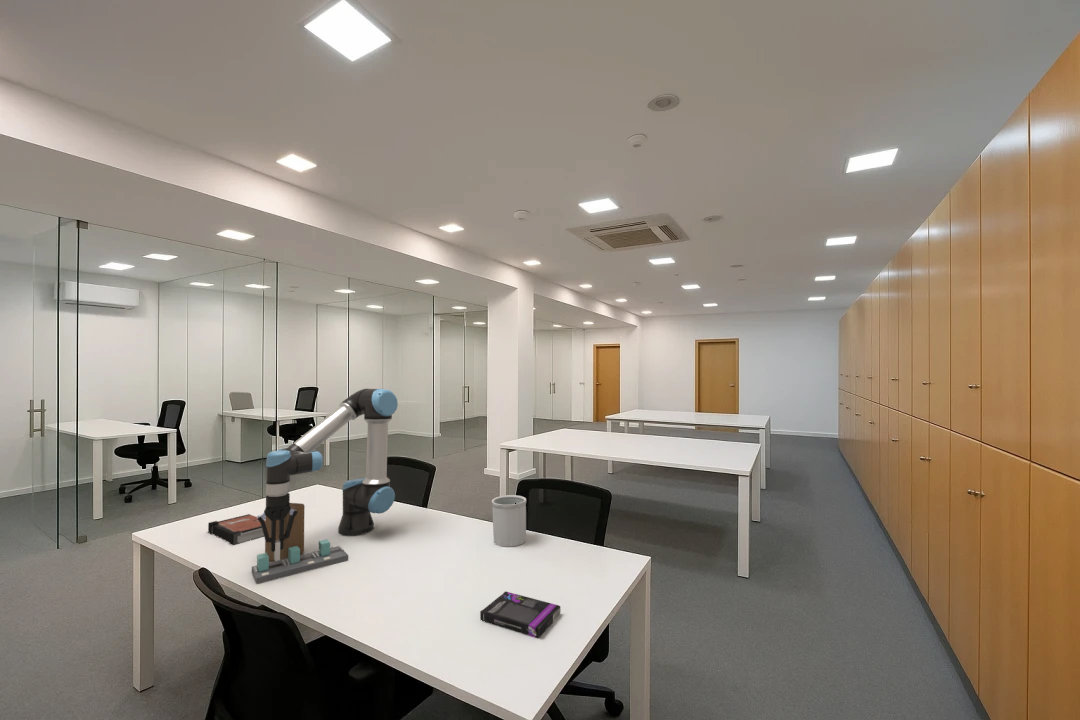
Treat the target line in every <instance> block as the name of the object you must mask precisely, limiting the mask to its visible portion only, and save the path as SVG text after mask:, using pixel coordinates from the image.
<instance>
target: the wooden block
mask: <svg viewBox="0 0 1080 720" xmlns="http://www.w3.org/2000/svg"><path fill="white" fill-rule="evenodd" d="M290 506H291V509H296V510H297V512H298V513H297V514H296V516H295V517H294V521H293V525H292V528H291V532H290V536H289V538H286V539H285V540H284V541H283V549H282V550H280V560H281V559H286V558H288V548H290V547H294V546H298V547H299V549H300V555H302V554H305V504H304V503H299V502H297V503H296V502H290ZM289 513H290V511H289ZM289 513H288V514H287V516H286V517H285V518H284V534H285V531H286V527H287V523H288V520H289V516H290V514H289ZM265 524H266V527H267V531H268V535H269V538H271V520H270V519H269V518H268V517H267V516H265ZM276 540H279V520H276ZM264 553H267V554H268V556H269V562H273V561H275V560H274V552H272V551H271V542H266V540H265V539H264Z"/></svg>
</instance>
